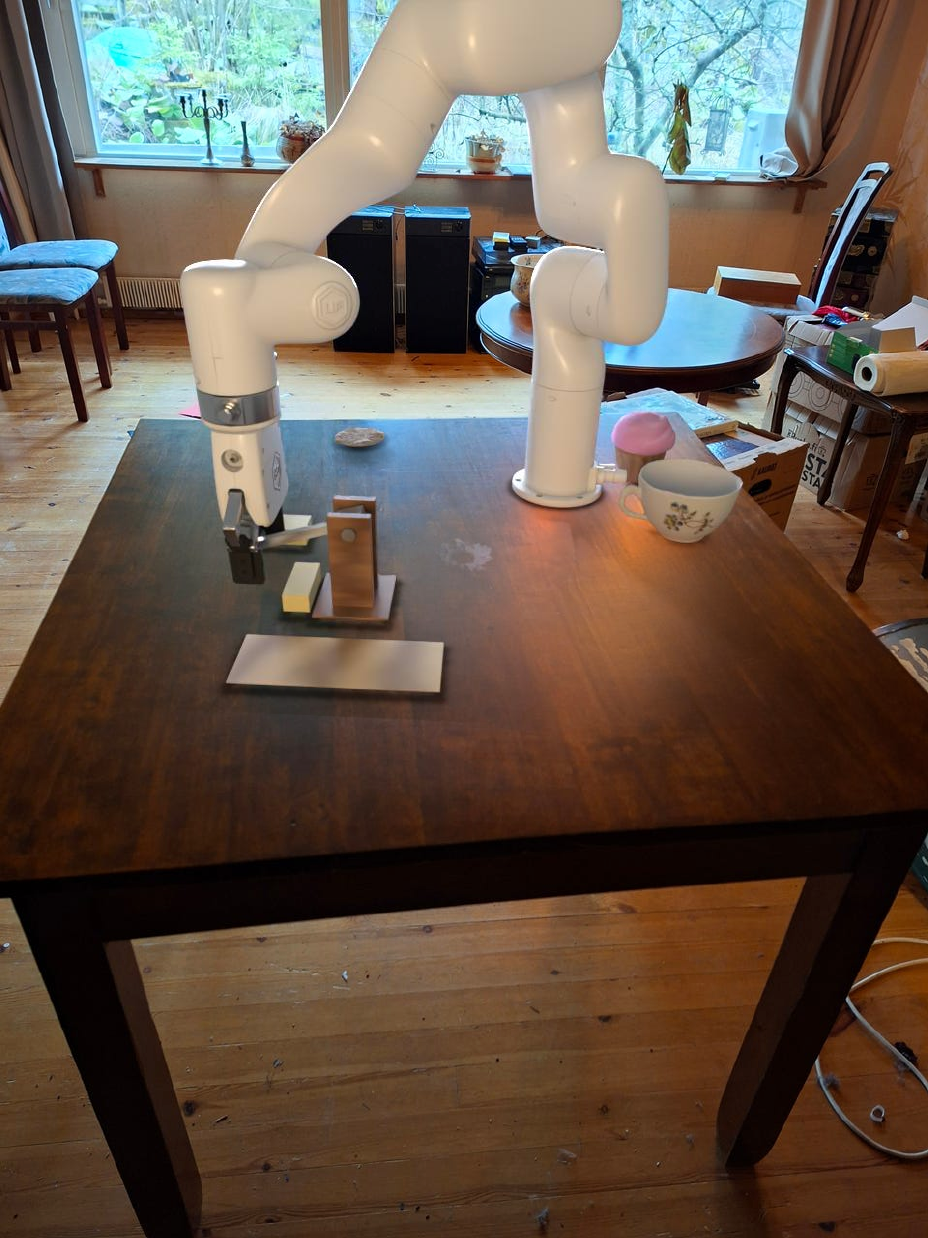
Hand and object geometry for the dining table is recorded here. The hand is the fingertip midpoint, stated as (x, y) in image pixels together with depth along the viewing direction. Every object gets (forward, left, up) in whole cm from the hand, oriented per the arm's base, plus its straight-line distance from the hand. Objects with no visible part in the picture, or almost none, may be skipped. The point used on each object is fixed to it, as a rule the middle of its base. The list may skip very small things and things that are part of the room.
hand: (260, 558), depth 89 cm
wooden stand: (-10, 0, -5) cm, 11 cm away
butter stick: (-4, 0, -5) cm, 7 cm away
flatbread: (-4, -47, -5) cm, 47 cm away
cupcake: (-46, -37, -5) cm, 59 cm away
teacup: (-48, -20, -5) cm, 52 cm away
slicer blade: (-5, 0, +2) cm, 6 cm away
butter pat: (0, -13, -5) cm, 14 cm away
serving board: (-10, +12, -5) cm, 17 cm away
